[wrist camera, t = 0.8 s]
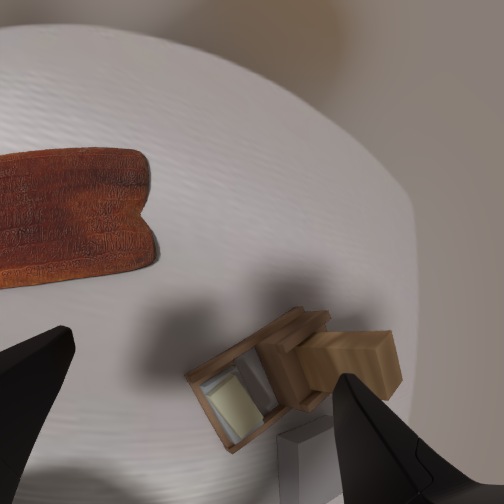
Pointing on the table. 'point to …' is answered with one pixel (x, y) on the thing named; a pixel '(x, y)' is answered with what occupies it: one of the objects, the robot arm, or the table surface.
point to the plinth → (309, 463)
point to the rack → (276, 368)
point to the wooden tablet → (72, 214)
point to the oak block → (351, 360)
